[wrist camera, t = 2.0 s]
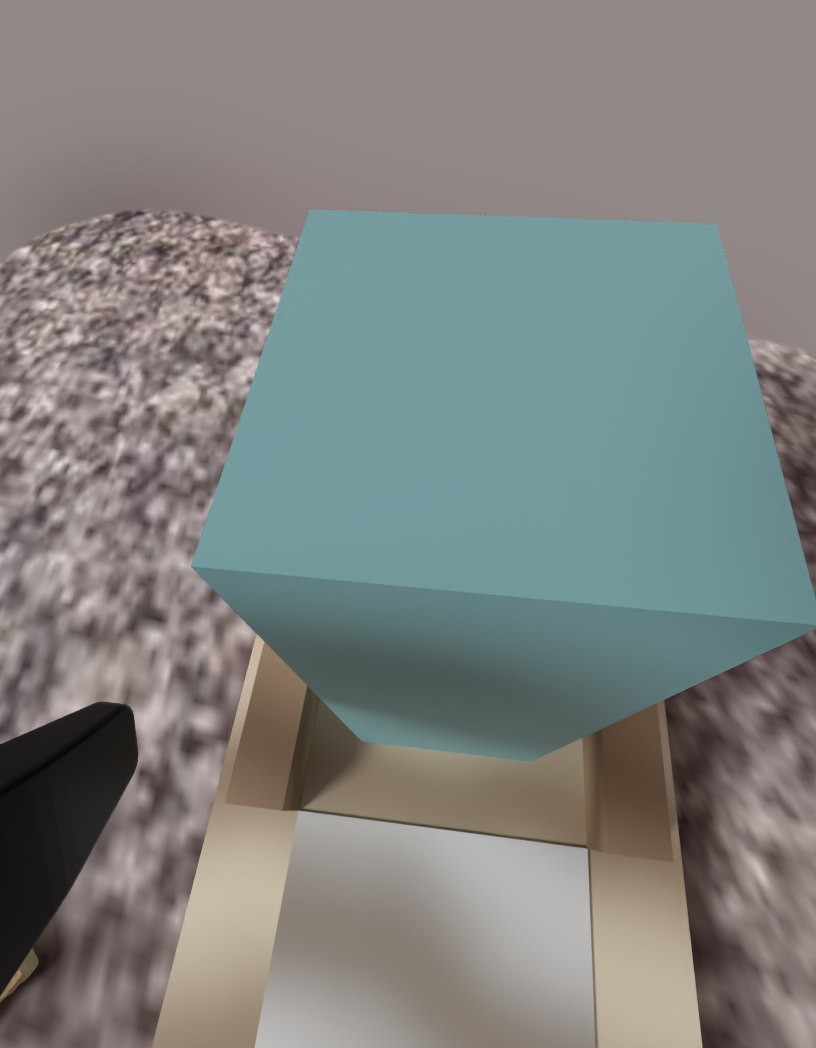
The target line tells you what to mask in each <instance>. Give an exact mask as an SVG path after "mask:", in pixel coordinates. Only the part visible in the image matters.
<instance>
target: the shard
mask: <svg viewBox="0 0 816 1048" xmlns="http://www.w3.org/2000/svg"><path fill="white" fill-rule="evenodd" d="M38 964H39V961H38V958H37V956H36V954H35V952H34V950H33V948H32V949H31V951H30V953H29V954H28V956H27V957H26V959H25V960H24V962H23V963H22V965H21V966H20V968H19V969H18V971H17V972H16V974H15V975H14V977H13V978H12V980H11V981H10V983H9V984H8V986H7V987H6V989H5V990H4V992H3V994H2V995H1V997H0V1002H1V1001H2V1000H3V999H4V998H5V997H6V996H8V995H10V994H11V993H13V992H14V990H15V989H16V988H17V987H18V985H19V984H21V983H22V982H24V981H25V980H26V979H27V978H28V977H29V976H30V975H31V974H32V972H33V971H34V970H35V969H36V968H37V966H38Z"/></svg>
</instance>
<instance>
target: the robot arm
mask: <svg viewBox="0 0 816 1048" xmlns="http://www.w3.org/2000/svg"><path fill="white" fill-rule="evenodd" d="M137 762H138V746H137V738H136V730H135V721H134V714H133V711H132V709H131V708H130V706H128V705H126V704H120V703H111V702H97V703H94V704H92V705H90V706H87V707H85V708H83V709H80V710H78V711H76V712H73V713H71V714H69V715H67V716H64V717H62V718H60V719H57V720H55V721H53V722H51V723H48V724H46V725H44V726H41V727H39V728H37V729H34V730H32V731H30V732H28V733H25V734H23V735H21V736H18V737H16V738H14V739H11V740H9V741H7V742H5V743H2V744H0V997H1V995H2V994H3V992H4V990H5V989H6V987H7V986H8V984H9V983H10V981H11V980H12V978H13V977H14V975H15V974H16V972H17V971H18V969H19V968H20V966H21V965H22V963H23V962H24V960H25V959H26V957H27V956H28V954H29V953H30V951H31V949H32V948H33V946H34V945H35V943H36V942H37V940H38V939H39V937H40V936H41V934H42V933H43V931H44V930H45V928H46V927H47V925H48V924H49V922H50V921H51V919H52V918H53V916H54V915H55V913H56V911H57V910H58V908H59V907H60V905H61V904H62V902H63V900H64V899H65V897H66V896H67V894H68V892H69V891H70V889H71V887H72V886H73V884H74V882H75V881H76V879H77V877H78V875H79V874H80V872H81V870H82V868H83V866H84V865H85V863H86V861H87V859H88V857H89V855H90V854H91V852H92V850H93V848H94V846H95V844H96V842H97V841H98V839H99V837H100V835H101V833H102V831H103V830H104V828H105V826H106V824H107V822H108V820H109V819H110V817H111V815H112V813H113V811H114V809H115V807H116V806H117V804H118V802H119V800H120V798H121V796H122V795H123V793H124V791H125V789H126V787H127V785H128V784H129V782H130V780H131V778H132V776H133V774H134V772H135V769H136V766H137Z"/></svg>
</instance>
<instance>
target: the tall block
mask: <svg viewBox="0 0 816 1048" xmlns="http://www.w3.org/2000/svg"><path fill="white" fill-rule="evenodd" d="M191 567H192V568H193V569H194V570H195V571H196V572H197V573H198V574H199V575H200V576H201V577H202V578H203V579H204V580H205V581H206V582H207V583H208V584H209V585H210V586H211V587H212V588H213V589H214V590H215V591H216V592H217V594H218V595H219V596H220V597H221V598H222V599H223V600H224V601H225V602H226V603H227V604H228V605H229V606H230V607H231V608H232V609H233V610H234V611H235V612H236V613H237V614H238V615H239V616H240V617H241V618H242V619H243V620H244V621H245V622H246V623H247V624H248V625H249V626H250V627H251V628H252V629H253V630H254V631H255V632H256V633H257V635H258V636H259V637H260V638H261V639H262V640H263V641H264V642H265V643H266V644H267V645H268V646H269V647H270V648H271V649H272V650H273V651H274V652H275V653H276V654H277V655H278V656H279V657H280V658H281V659H282V660H283V661H284V662H285V663H286V664H287V665H288V666H289V667H290V668H291V669H292V670H293V671H294V672H295V673H296V674H297V675H298V677H299V678H300V679H301V680H302V681H303V682H304V683H305V684H306V685H307V686H308V687H309V688H310V689H311V690H312V691H313V692H314V693H315V694H316V695H317V696H318V697H319V698H320V699H321V700H322V701H323V702H324V703H325V704H326V705H327V706H328V707H329V708H330V709H331V710H332V711H333V712H334V713H335V714H336V715H337V716H338V718H339V719H340V720H341V721H342V722H343V723H344V724H345V725H346V726H347V727H348V728H349V729H350V730H351V731H352V732H353V733H354V734H355V735H356V736H357V737H358V738H359V739H360V740H361V741H362V742H368V743H377V744H385V745H394V746H402V747H410V748H419V749H427V750H435V751H444V752H452V753H461V754H469V755H477V756H486V757H494V758H503V759H511V760H519V761H528V762H532V761H534V760H536V759H538V758H540V757H543V756H545V755H547V754H549V753H551V752H553V751H555V750H558V749H560V748H562V747H564V746H566V745H568V744H570V743H573V742H575V741H577V740H579V739H581V738H583V737H585V736H588V735H590V734H592V733H594V732H596V731H598V730H600V729H603V728H605V727H607V726H609V725H611V724H613V723H615V722H618V721H620V720H622V719H624V718H626V717H628V716H630V715H633V714H635V713H637V712H639V711H641V710H643V709H645V708H648V707H650V706H652V705H654V704H656V703H658V702H660V701H663V700H665V699H667V698H669V697H671V696H673V695H675V694H678V693H680V692H682V691H684V690H686V689H688V688H690V687H693V686H695V685H697V684H699V683H701V682H703V681H705V680H707V679H710V678H712V677H714V676H716V675H718V674H720V673H722V672H725V671H727V670H729V669H731V668H733V667H735V666H737V665H740V664H742V663H744V662H746V661H748V660H750V659H752V658H755V657H757V656H759V655H761V654H763V653H765V652H767V651H770V650H772V649H774V648H776V647H778V646H780V645H782V644H785V643H787V642H789V641H791V640H793V639H795V638H797V637H800V636H802V635H804V634H806V633H808V632H810V631H812V630H815V629H816V598H815V594H814V591H813V587H812V583H811V579H810V575H809V572H808V568H807V564H806V560H805V556H804V553H803V549H802V545H801V541H800V537H799V534H798V530H797V526H796V522H795V518H794V515H793V511H792V507H791V503H790V499H789V496H788V492H787V488H786V484H785V480H784V477H783V473H782V469H781V465H780V461H779V457H778V454H777V450H776V446H775V442H774V438H773V435H772V431H771V427H770V423H769V419H768V416H767V412H766V408H765V404H764V400H763V397H762V393H761V389H760V385H759V381H758V378H757V374H756V370H755V366H754V362H753V359H752V355H751V351H750V347H749V343H748V340H747V336H746V332H745V328H744V324H743V321H742V317H741V313H740V309H739V306H738V302H737V298H736V294H735V290H734V286H733V283H732V279H731V275H730V272H729V267H728V264H727V260H726V256H725V252H724V248H723V245H722V241H721V237H720V233H719V230H718V226H717V224H715V223H686V222H658V221H656V222H655V221H628V220H599V219H571V218H542V217H513V216H485V215H483V216H482V215H456V214H426V213H397V212H369V211H340V210H310V212H309V214H308V217H307V221H306V223H305V226H304V230H303V233H302V235H301V238H300V241H299V244H298V247H297V250H296V253H295V256H294V259H293V262H292V265H291V268H290V271H289V274H288V277H287V280H286V283H285V286H284V289H283V292H282V295H281V298H280V301H279V304H278V307H277V310H276V313H275V316H274V319H273V322H272V325H271V328H270V331H269V334H268V337H267V340H266V343H265V346H264V349H263V352H262V355H261V358H260V361H259V364H258V367H257V370H256V373H255V376H254V379H253V382H252V385H251V388H250V391H249V394H248V397H247V400H246V403H245V406H244V409H243V412H242V415H241V418H240V421H239V424H238V427H237V430H236V433H235V436H234V439H233V442H232V445H231V448H230V451H229V454H228V457H227V460H226V463H225V466H224V469H223V472H222V475H221V478H220V481H219V484H218V487H217V490H216V493H215V496H214V499H213V502H212V505H211V508H210V511H209V514H208V517H207V520H206V523H205V526H204V529H203V532H202V535H201V538H200V541H199V544H198V547H197V550H196V553H195V556H194V559H193V562H192V565H191Z"/></svg>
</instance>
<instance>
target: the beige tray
mask: <svg viewBox="0 0 816 1048" xmlns="http://www.w3.org/2000/svg"><path fill="white" fill-rule="evenodd" d="M152 1048H702V1039H701V1029H700V1020H699V1011H698V1002H697V993H696V984H695V975H694V966H693V957H692V948H691V939H690V930H689V921H688V911H687V902H686V893H685V884H684V875H683V866H682V857H681V848H680V839H679V830H678V821H677V812H676V803H675V793H674V784H673V775H672V766H671V757H670V748H669V739H668V730H667V721H666V712H665V703H664V700H663V701H660V702H658V703H656V704H654V705H652V706H650V707H648V708H645V709H643V710H641V711H639V712H637V713H635V714H633V715H630V716H628V717H626V718H624V719H622V720H620V721H618V722H615V723H613V724H611V725H609V726H607V727H605V728H603V729H600V730H598V731H596V732H594V733H592V734H590V735H588V736H585V737H583V738H581V739H579V740H577V741H575V742H573V743H570V744H568V745H566V746H564V747H562V748H560V749H558V750H555V751H553V752H551V753H549V754H547V755H545V756H543V757H540V758H538V759H536V760H534V761H532V762H528V761H519V760H511V759H503V758H494V757H486V756H477V755H469V754H461V753H452V752H444V751H435V750H427V749H419V748H410V747H402V746H394V745H385V744H377V743H368V742H362V741H361V740H360V739H359V738H358V737H357V736H356V735H355V734H354V733H353V732H352V731H351V730H350V729H349V728H348V727H347V726H346V725H345V724H344V723H343V722H342V721H341V720H340V719H339V718H338V716H337V715H336V714H335V713H334V712H333V711H332V710H331V709H330V708H329V707H328V706H327V705H326V704H325V703H324V702H323V701H322V700H321V699H320V698H319V697H318V696H317V695H316V694H315V693H314V692H313V691H312V690H311V689H310V688H309V687H308V686H307V685H306V684H305V683H304V682H303V681H302V680H301V679H300V678H299V677H298V675H297V674H296V673H295V672H294V671H293V670H292V669H291V668H290V667H289V666H288V665H287V664H286V663H285V662H284V661H283V660H282V659H281V658H280V657H279V656H278V655H277V654H276V653H275V652H274V651H273V650H272V649H271V648H270V647H269V646H268V645H267V644H266V643H265V642H264V641H263V640H262V639H261V638H260V637H259V636H258V635H256V639H255V642H254V646H253V650H252V654H251V658H250V662H249V666H248V670H247V674H246V678H245V682H244V686H243V690H242V694H241V698H240V702H239V706H238V710H237V713H236V717H235V721H234V725H233V729H232V733H231V737H230V741H229V745H228V749H227V753H226V757H225V761H224V765H223V769H222V773H221V777H220V781H219V785H218V788H217V792H216V796H215V800H214V804H213V808H212V812H211V816H210V820H209V824H208V828H207V832H206V836H205V840H204V844H203V848H202V852H201V856H200V859H199V863H198V867H197V871H196V875H195V879H194V883H193V887H192V891H191V895H190V899H189V903H188V907H187V911H186V915H185V919H184V923H183V927H182V930H181V934H180V938H179V942H178V946H177V950H176V954H175V958H174V962H173V966H172V970H171V974H170V978H169V982H168V986H167V990H166V994H165V998H164V1001H163V1005H162V1009H161V1013H160V1017H159V1021H158V1025H157V1029H156V1033H155V1037H154V1041H153V1045H152Z"/></svg>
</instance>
